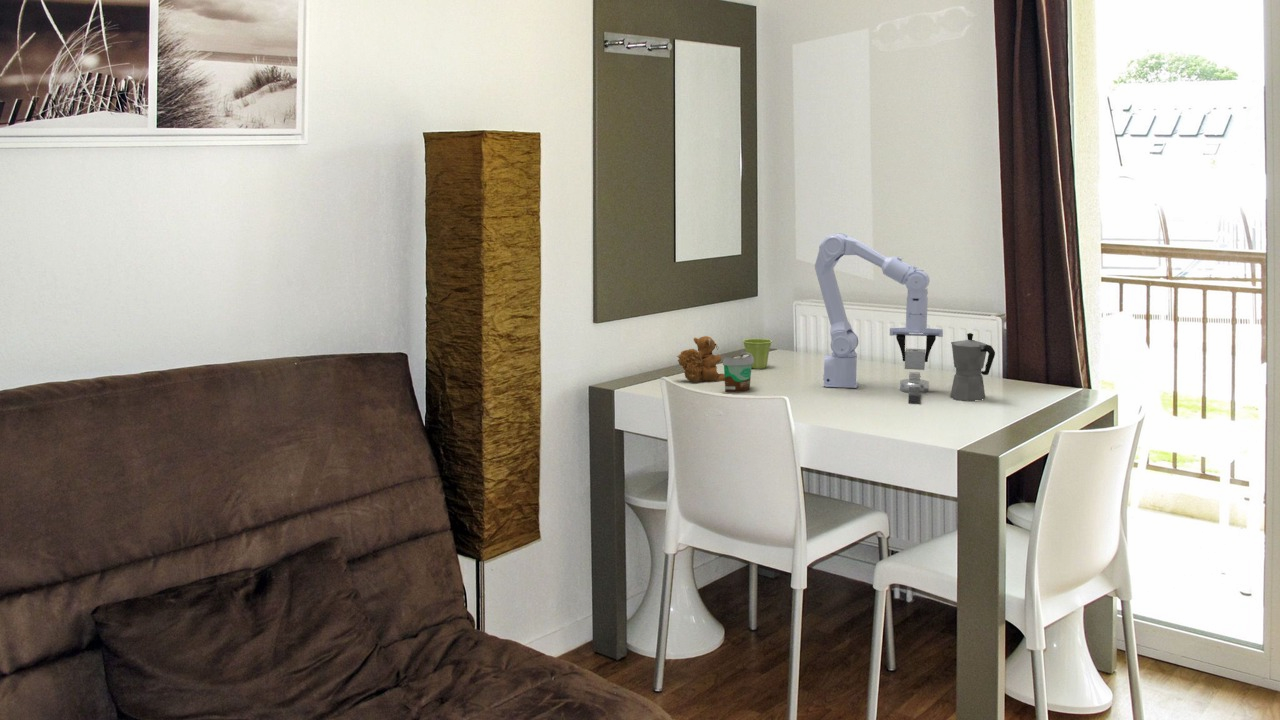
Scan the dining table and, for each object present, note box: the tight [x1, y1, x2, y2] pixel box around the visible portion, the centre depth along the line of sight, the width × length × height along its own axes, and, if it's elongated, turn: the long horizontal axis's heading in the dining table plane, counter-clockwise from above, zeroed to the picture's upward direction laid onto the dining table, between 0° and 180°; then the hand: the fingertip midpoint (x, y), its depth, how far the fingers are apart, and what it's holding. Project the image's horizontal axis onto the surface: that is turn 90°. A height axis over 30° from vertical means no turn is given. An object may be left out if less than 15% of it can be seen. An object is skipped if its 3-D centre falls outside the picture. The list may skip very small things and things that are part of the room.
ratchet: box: [899, 371, 930, 405], centre depth 301 cm, size 8×22×5 cm, turn 166°
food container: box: [722, 351, 754, 393], centre depth 310 cm, size 12×6×10 cm, turn 148°
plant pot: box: [742, 338, 773, 370], centre depth 346 cm, size 9×9×9 cm
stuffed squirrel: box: [676, 335, 725, 384], centre depth 325 cm, size 10×14×13 cm
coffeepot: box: [949, 332, 996, 402], centre depth 294 cm, size 15×9×18 cm, turn 29°
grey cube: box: [904, 347, 926, 371], centre depth 306 cm, size 5×5×5 cm
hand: (915, 361), depth 307 cm, fingers closed on grey cube, 5 cm apart
